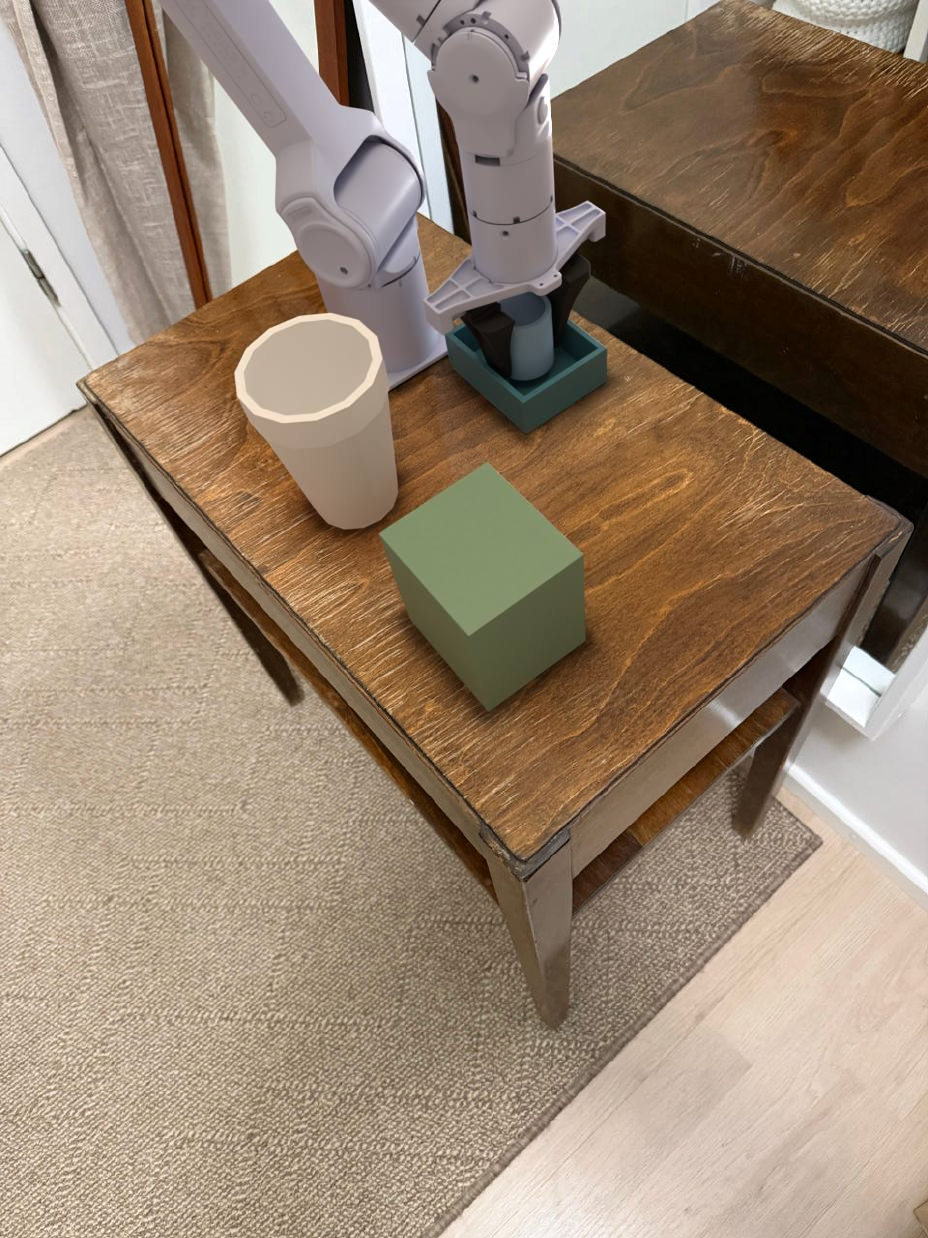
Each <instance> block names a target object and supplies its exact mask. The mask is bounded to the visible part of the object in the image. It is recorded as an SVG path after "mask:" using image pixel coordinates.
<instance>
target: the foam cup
mask: <svg viewBox="0 0 928 1238" xmlns="http://www.w3.org/2000/svg"><path fill="white" fill-rule="evenodd" d="M234 382H235V391H236V397H237V399H238V401H239V403H240V405H241V407H242V409H243V412H244V414H245V416H246V417H247V420H248V421H249V423H250V424H251V425H252V426H253V428H254V429H255V430H256V431H257V432H258V434H260V435H261V436H262V437H263V439H264V440H265V441H266V442H267V443H268V445H269V447H271V449H272V451H273V452H274V453H275V455H276V456H277V457H278V459H279V461H280V462H281V463H282V465H283V466H284V468H285V469H286V470H287V472H288V473H289V475H290V476H291V478H293V480H294V482H296V485H297V486H298V487H299V489H300V490H301V491H302V493H303V494H304V496H305V497H306V499H307V500H308V501H309V503H310V504H311V506H312V507H313V508H314V510H315V511H316V512H317V514H318V515H319V516H320V517H321V518H322V519H323V520H324V521H325V523H326V524H327V525H331V526H332V527H333V526H334V527H335V528H339V529H342V530H355V529H356V530H357V529H358V530H359V529H364V528H367V527H369V526H371V525H374V524H375V523H377V522H380V521H381V520H383V518H384V517H385V516H386V515H387V514H388V513H389V512H390V511H392V509H393V508H394V506H395V503H396V501H397V497H398V495H399V489H398V487H399V483H398V474H397V465H396V457H395V456H396V454H395V445H394V438H393V429H392V418H391V409H390V401H389V392H390V390H389V388H390V384H389V380H388V376H387V371H386V367H385V363H384V360H383V356H382V352H381V349H380V345H379V342H378V338H377V336H376V335H375V334H374V333H373V332H372V331H371V330H369V329H368V328H367V327H366V326H365V325H364V324H363V323H361V322H360V321H359V320H357V319H353V318H349V317H345V316H341V315H337V314H333V313H327V312H326V313H324V312H323V313H316V314H315V313H314V314H307V315H306V314H304V315H298V316H296V317H293V318H291V319H288V320H286V321H283V322H282V323H279V324H276V325H274V326H272V327H269V328H268V329H267V330H266V331H265V332H263V333H262V334H261V335H260V336H258V338H256V339H255V340H254V341H253V342H252V343H250V344H249V346H247V347H246V348H245V350H244V352H243V354H242V357H241V358H240V360H239V362H238V364H237V366H236V368H235V370H234Z"/></svg>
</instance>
